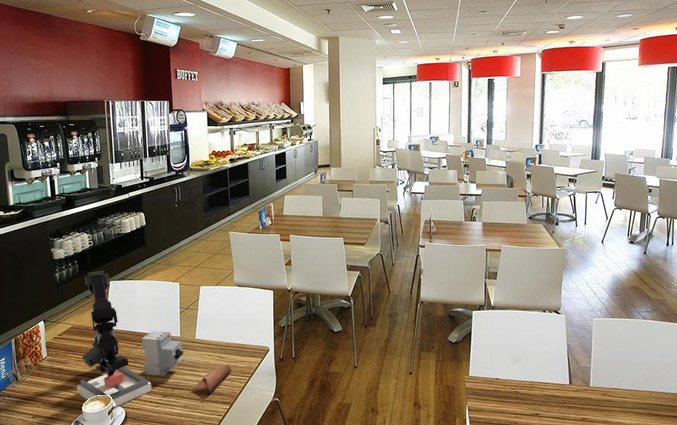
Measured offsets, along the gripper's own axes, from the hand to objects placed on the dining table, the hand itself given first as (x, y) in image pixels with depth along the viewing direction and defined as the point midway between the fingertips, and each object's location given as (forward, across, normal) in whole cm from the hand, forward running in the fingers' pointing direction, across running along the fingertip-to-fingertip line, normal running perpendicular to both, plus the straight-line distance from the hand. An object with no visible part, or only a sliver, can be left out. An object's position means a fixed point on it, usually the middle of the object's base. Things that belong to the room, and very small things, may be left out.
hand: (110, 378), depth 202 cm
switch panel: (+5, +2, 0) cm, 5 cm away
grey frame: (+2, +2, 0) cm, 3 cm away
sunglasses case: (+5, +25, +26) cm, 37 cm away
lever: (+4, +3, 0) cm, 4 cm away
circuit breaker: (+5, +3, +21) cm, 22 cm away
